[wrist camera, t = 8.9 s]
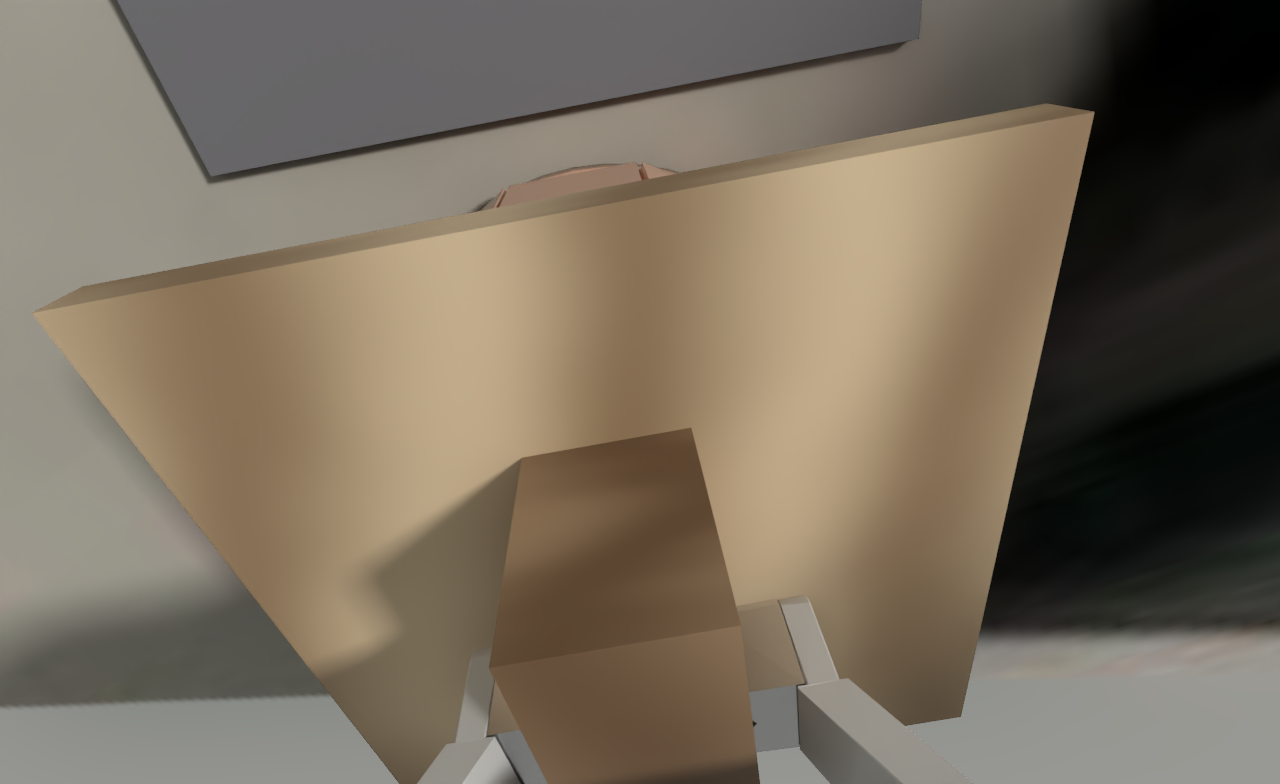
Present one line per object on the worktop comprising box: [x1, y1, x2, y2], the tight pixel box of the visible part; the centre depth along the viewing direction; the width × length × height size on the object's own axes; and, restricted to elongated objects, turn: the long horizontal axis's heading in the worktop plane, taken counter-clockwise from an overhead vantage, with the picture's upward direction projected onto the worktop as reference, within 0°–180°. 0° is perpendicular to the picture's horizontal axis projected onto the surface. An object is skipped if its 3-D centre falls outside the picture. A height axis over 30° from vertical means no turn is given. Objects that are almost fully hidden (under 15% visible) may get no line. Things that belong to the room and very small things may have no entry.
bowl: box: [479, 162, 678, 211], centre depth 17 cm, size 13×13×6 cm
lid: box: [32, 103, 1095, 784], centre depth 11 cm, size 15×15×5 cm
